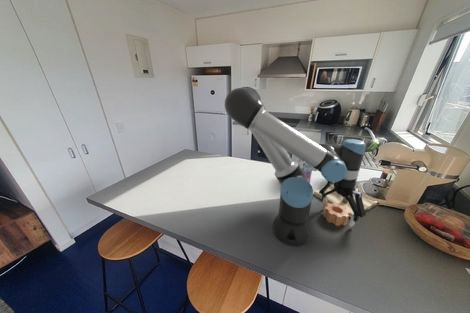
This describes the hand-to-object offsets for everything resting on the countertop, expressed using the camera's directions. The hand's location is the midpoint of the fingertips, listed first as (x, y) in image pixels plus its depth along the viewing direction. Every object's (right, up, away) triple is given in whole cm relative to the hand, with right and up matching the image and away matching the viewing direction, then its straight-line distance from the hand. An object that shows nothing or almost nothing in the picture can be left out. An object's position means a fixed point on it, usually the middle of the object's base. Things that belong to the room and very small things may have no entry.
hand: (336, 216), depth 82 cm
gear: (0, -1, +1) cm, 1 cm away
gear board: (+13, +5, +14) cm, 20 cm away
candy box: (-5, +12, +32) cm, 34 cm away
